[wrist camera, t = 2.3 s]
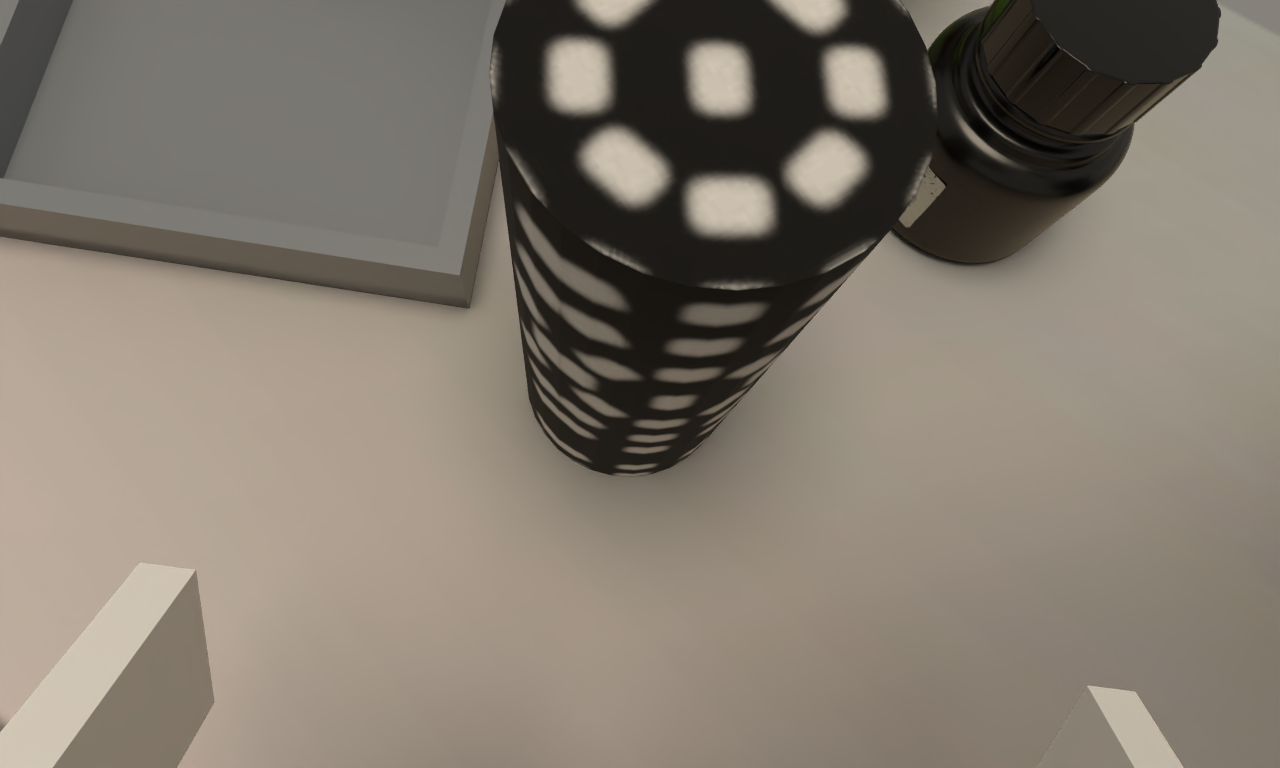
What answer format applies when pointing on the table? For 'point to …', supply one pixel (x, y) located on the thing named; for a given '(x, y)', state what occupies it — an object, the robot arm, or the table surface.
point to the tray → (255, 136)
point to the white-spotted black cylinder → (692, 197)
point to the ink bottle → (1042, 112)
